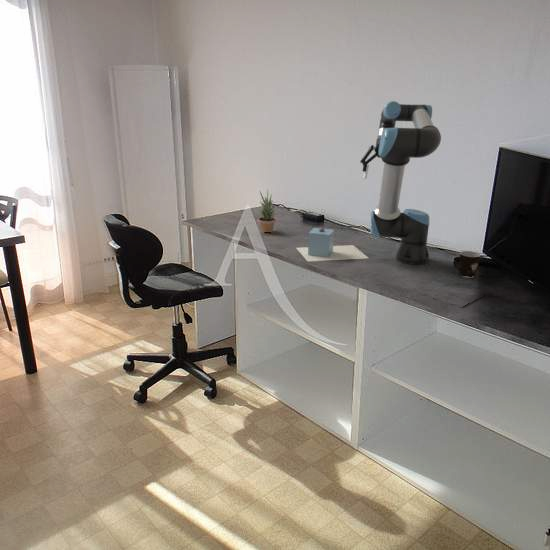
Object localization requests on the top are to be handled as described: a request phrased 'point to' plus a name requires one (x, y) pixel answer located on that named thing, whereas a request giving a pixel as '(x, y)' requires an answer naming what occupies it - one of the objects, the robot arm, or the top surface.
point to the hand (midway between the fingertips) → (377, 181)
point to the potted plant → (267, 215)
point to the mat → (335, 253)
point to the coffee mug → (468, 263)
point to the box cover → (320, 242)
